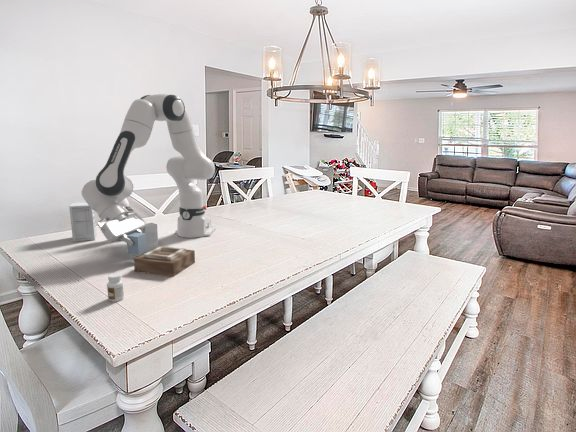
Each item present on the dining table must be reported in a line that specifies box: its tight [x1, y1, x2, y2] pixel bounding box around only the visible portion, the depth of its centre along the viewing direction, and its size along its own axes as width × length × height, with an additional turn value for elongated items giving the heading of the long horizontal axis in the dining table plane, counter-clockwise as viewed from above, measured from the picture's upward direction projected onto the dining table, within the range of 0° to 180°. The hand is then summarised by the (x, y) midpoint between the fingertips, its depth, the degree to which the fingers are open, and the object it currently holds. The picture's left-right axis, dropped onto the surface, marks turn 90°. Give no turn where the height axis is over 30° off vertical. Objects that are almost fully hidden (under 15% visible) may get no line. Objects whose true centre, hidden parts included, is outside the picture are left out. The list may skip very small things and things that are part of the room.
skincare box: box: [141, 222, 159, 254], centre depth 163 cm, size 6×4×12 cm
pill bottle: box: [106, 273, 125, 303], centre depth 117 cm, size 4×4×8 cm
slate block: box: [126, 233, 146, 256], centre depth 150 cm, size 5×5×8 cm
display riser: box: [133, 245, 196, 277], centre depth 146 cm, size 16×16×6 cm
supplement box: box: [68, 201, 98, 243], centre depth 180 cm, size 10×9×17 cm
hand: (137, 242), depth 150 cm, fingers closed on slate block, 5 cm apart
